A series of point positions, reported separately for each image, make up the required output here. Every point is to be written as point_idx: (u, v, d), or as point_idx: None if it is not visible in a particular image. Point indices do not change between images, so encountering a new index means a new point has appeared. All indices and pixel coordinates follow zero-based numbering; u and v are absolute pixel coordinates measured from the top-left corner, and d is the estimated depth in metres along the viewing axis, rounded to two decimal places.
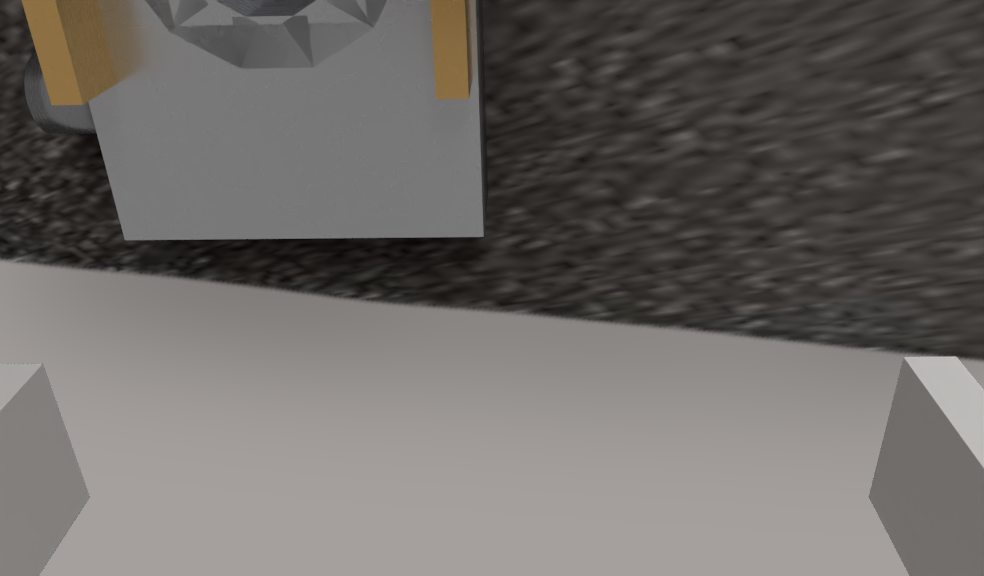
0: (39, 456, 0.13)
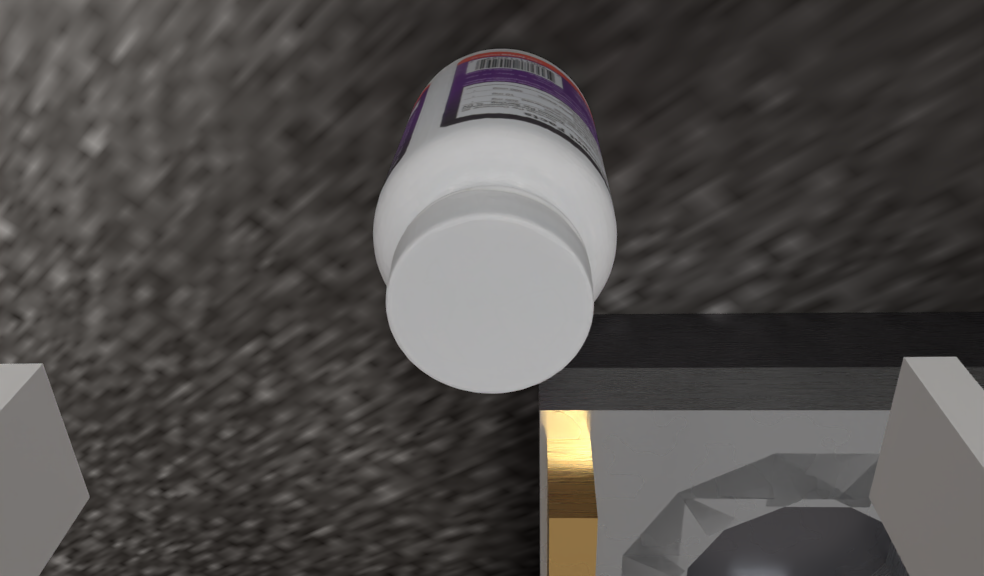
0: (39, 456, 0.13)
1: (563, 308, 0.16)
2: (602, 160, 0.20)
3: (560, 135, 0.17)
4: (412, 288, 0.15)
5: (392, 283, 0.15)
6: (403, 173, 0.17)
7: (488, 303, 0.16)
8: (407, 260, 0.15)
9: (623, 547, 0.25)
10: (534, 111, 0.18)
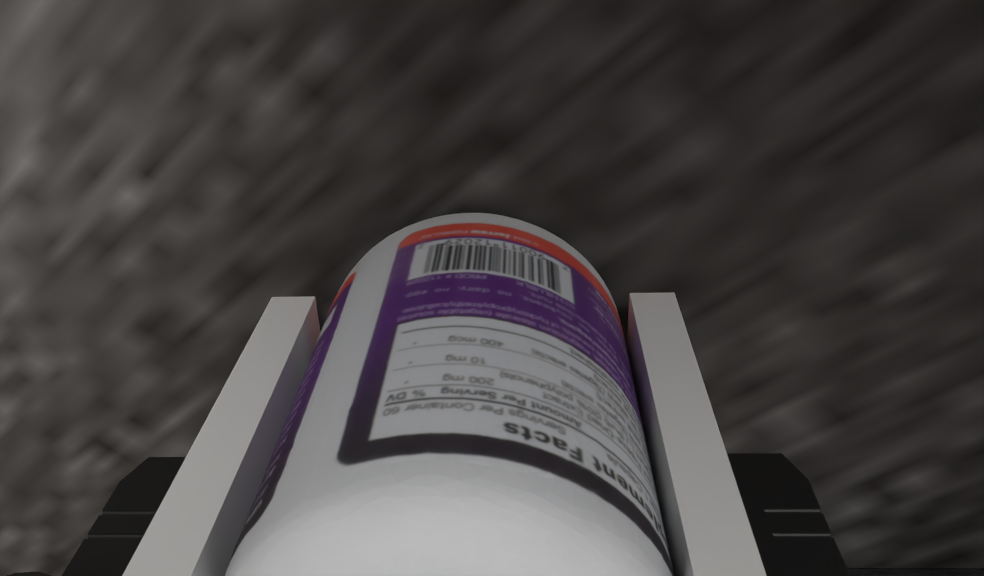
0: None
1: None
2: (645, 443, 0.11)
3: (576, 479, 0.09)
4: None
5: None
6: (256, 570, 0.08)
7: None
8: None
9: None
10: (523, 411, 0.09)
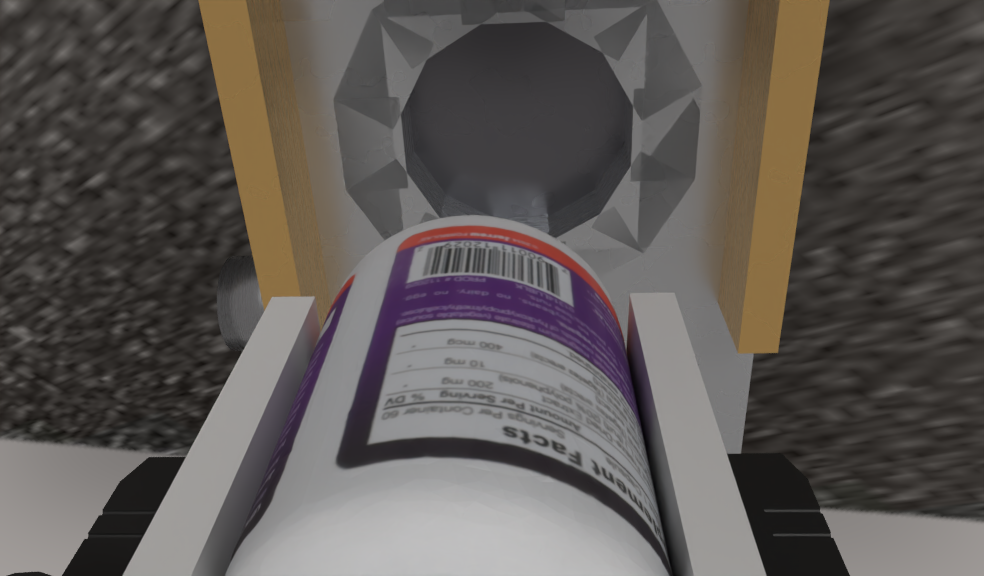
0: None
1: None
2: (644, 446, 0.11)
3: (574, 484, 0.09)
4: None
5: None
6: (254, 574, 0.08)
7: None
8: None
9: (332, 88, 0.25)
10: (522, 414, 0.09)
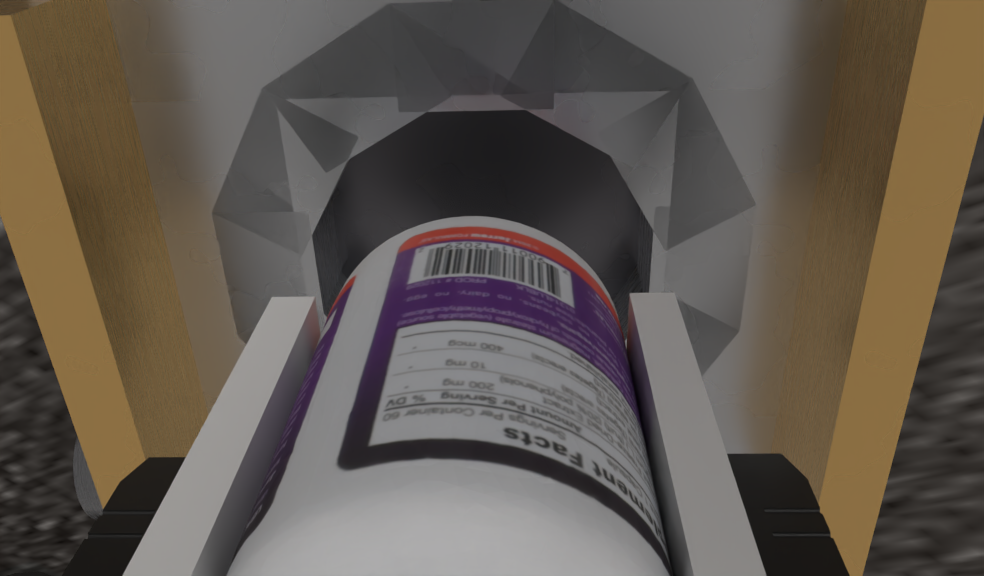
0: None
1: None
2: (645, 447, 0.11)
3: (575, 485, 0.09)
4: None
5: None
6: None
7: None
8: None
9: (209, 198, 0.17)
10: (524, 416, 0.09)
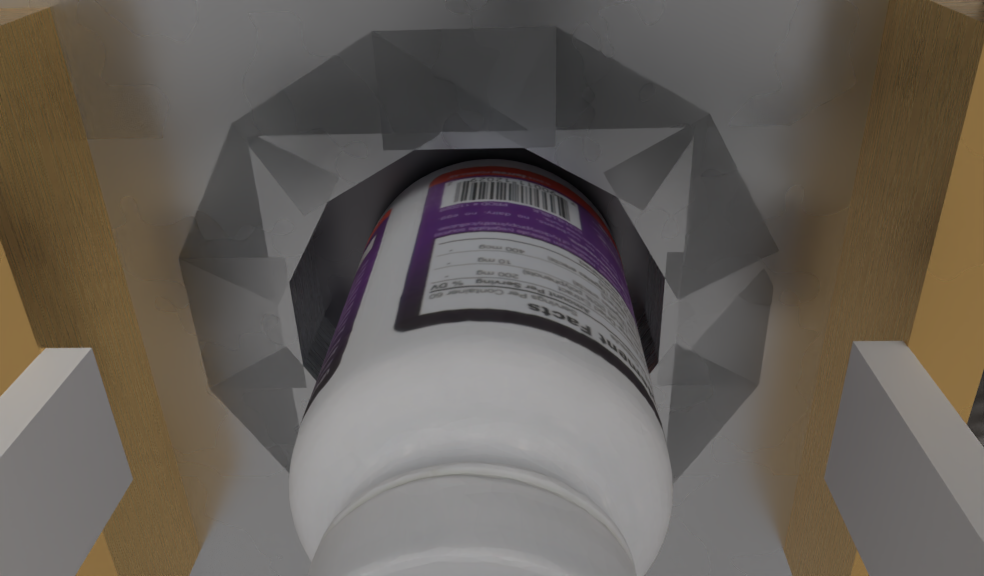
0: (89, 437, 0.13)
1: None
2: None
3: (586, 345, 0.11)
4: None
5: None
6: (331, 412, 0.10)
7: None
8: None
9: (175, 242, 0.15)
10: (543, 297, 0.11)
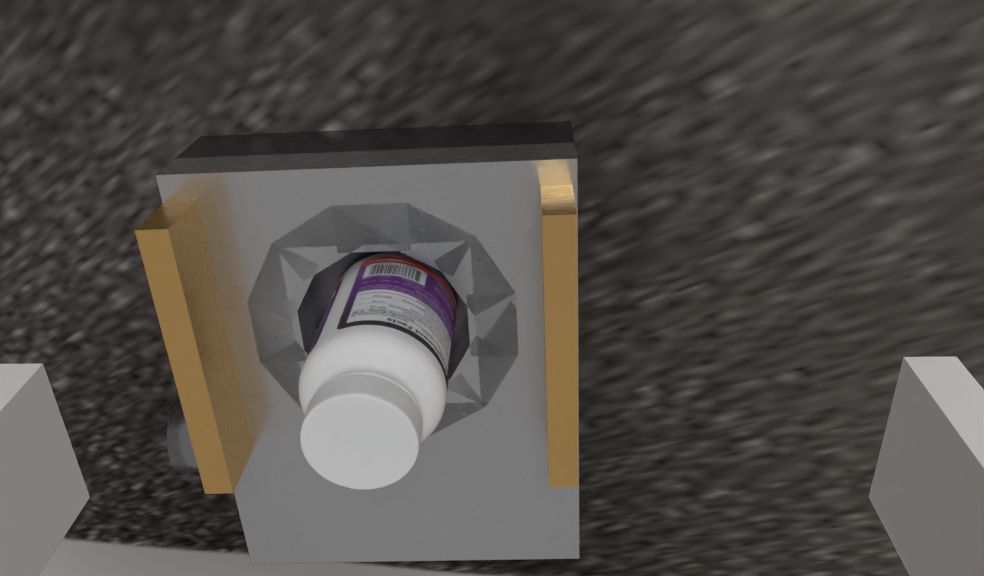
0: (39, 456, 0.13)
1: (401, 442, 0.27)
2: (446, 334, 0.32)
3: (407, 333, 0.29)
4: (314, 433, 0.27)
5: (303, 430, 0.27)
6: (313, 358, 0.29)
7: (358, 440, 0.27)
8: (310, 418, 0.27)
9: (246, 294, 0.34)
10: (394, 315, 0.30)
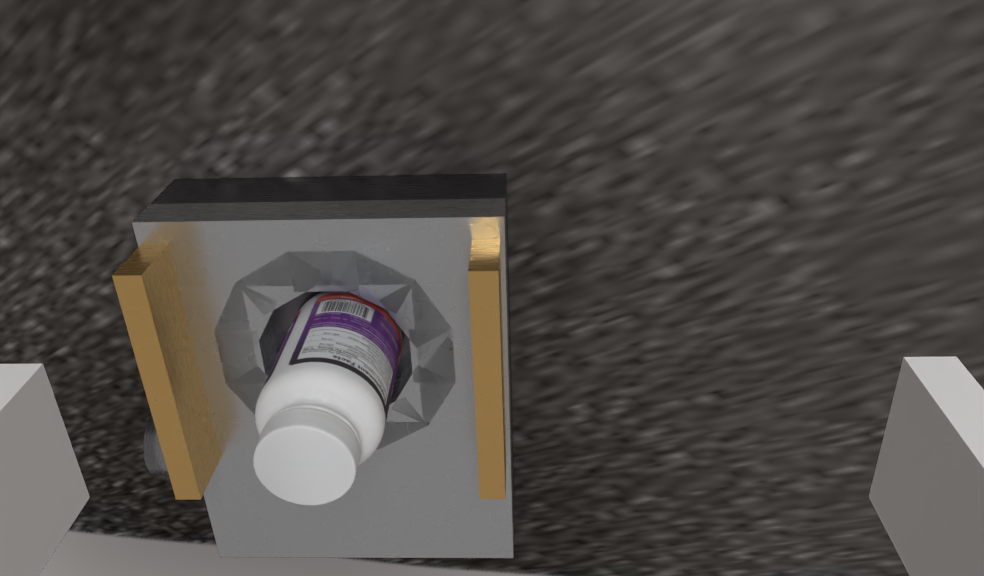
0: (39, 456, 0.13)
1: (340, 466, 0.32)
2: (388, 366, 0.36)
3: (350, 369, 0.34)
4: (265, 457, 0.32)
5: (255, 455, 0.32)
6: (267, 390, 0.33)
7: (303, 464, 0.32)
8: (262, 445, 0.31)
9: (213, 325, 0.38)
10: (340, 352, 0.34)
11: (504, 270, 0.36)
